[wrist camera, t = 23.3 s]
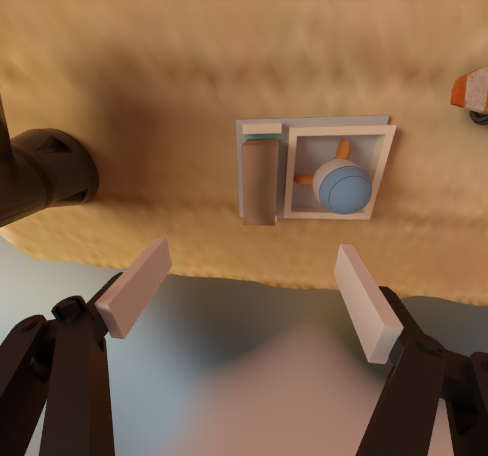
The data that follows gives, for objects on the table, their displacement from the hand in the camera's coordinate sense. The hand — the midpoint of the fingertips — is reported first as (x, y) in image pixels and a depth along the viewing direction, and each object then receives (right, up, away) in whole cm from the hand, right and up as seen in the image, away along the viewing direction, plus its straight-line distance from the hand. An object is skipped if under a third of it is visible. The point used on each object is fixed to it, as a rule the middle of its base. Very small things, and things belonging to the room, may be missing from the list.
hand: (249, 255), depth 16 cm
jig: (+10, +12, +23) cm, 28 cm away
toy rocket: (+15, +11, +22) cm, 29 cm away
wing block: (+3, +12, +22) cm, 26 cm away
